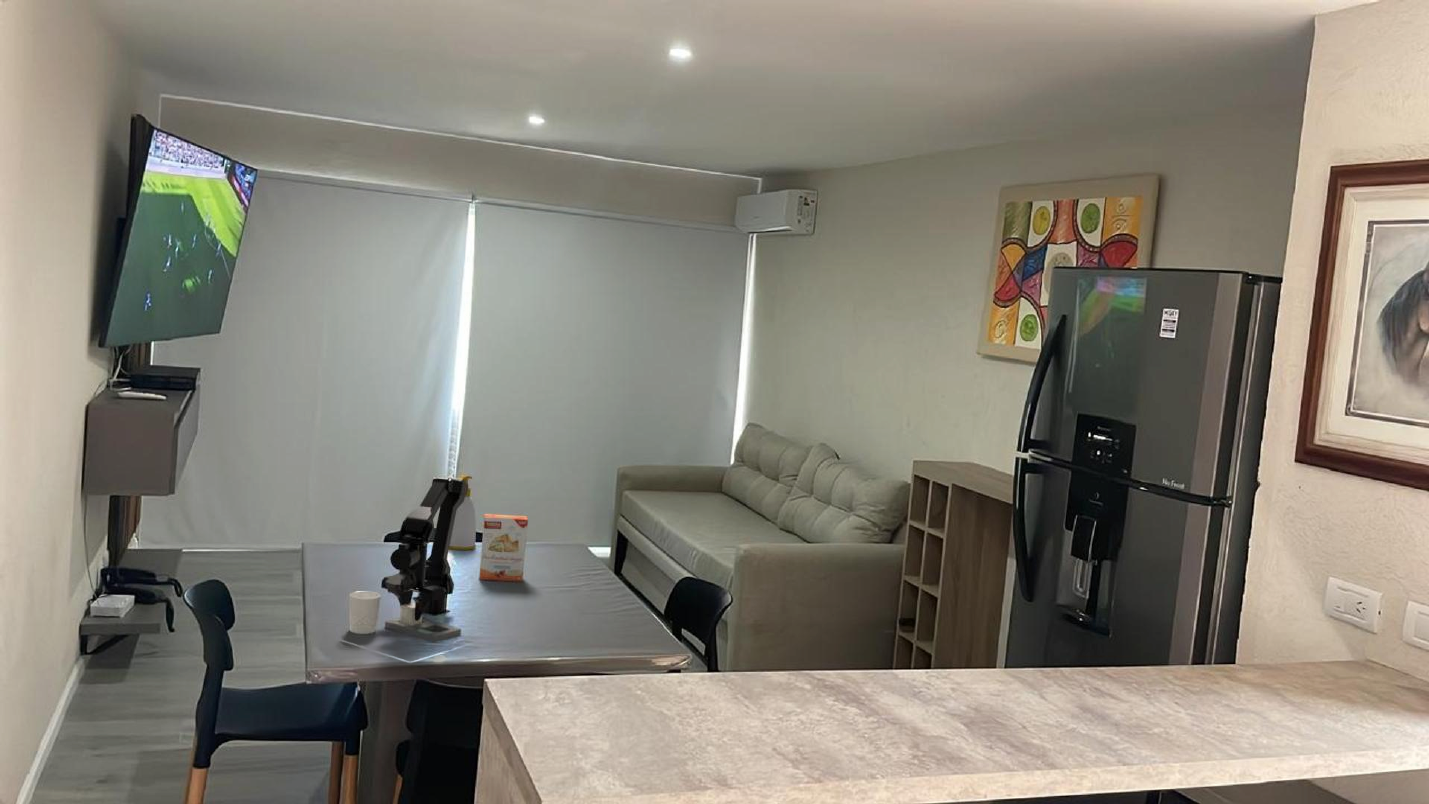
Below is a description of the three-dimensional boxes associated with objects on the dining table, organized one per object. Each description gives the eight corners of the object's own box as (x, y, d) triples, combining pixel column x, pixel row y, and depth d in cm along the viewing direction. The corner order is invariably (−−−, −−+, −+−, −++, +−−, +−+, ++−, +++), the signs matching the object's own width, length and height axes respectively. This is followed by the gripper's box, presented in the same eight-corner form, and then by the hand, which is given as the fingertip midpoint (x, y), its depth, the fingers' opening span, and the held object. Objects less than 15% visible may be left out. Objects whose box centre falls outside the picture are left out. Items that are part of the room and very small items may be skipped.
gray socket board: (411, 621, 315) (412, 613, 315) (460, 636, 306) (461, 628, 306) (384, 628, 306) (385, 620, 306) (434, 644, 297) (434, 635, 297)
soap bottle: (438, 548, 404) (444, 475, 402) (451, 542, 416) (456, 471, 413) (468, 552, 402) (474, 479, 400) (480, 546, 414) (486, 475, 412)
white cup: (368, 637, 297) (371, 600, 297) (341, 633, 299) (344, 596, 298) (383, 630, 305) (386, 593, 304) (356, 625, 307) (359, 589, 306)
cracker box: (479, 580, 366) (484, 516, 364) (479, 575, 371) (484, 513, 370) (523, 582, 368) (528, 519, 367) (522, 577, 374) (527, 515, 373)
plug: (410, 624, 311) (412, 602, 310) (421, 627, 309) (422, 605, 309) (397, 627, 307) (398, 605, 306) (408, 630, 305) (409, 608, 304)
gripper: (367, 560, 304) (363, 616, 306) (419, 573, 295) (414, 632, 297) (398, 554, 314) (394, 609, 315) (449, 567, 305) (444, 624, 306)
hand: (411, 618), depth 308 cm, fingers closed on plug, 4 cm apart
